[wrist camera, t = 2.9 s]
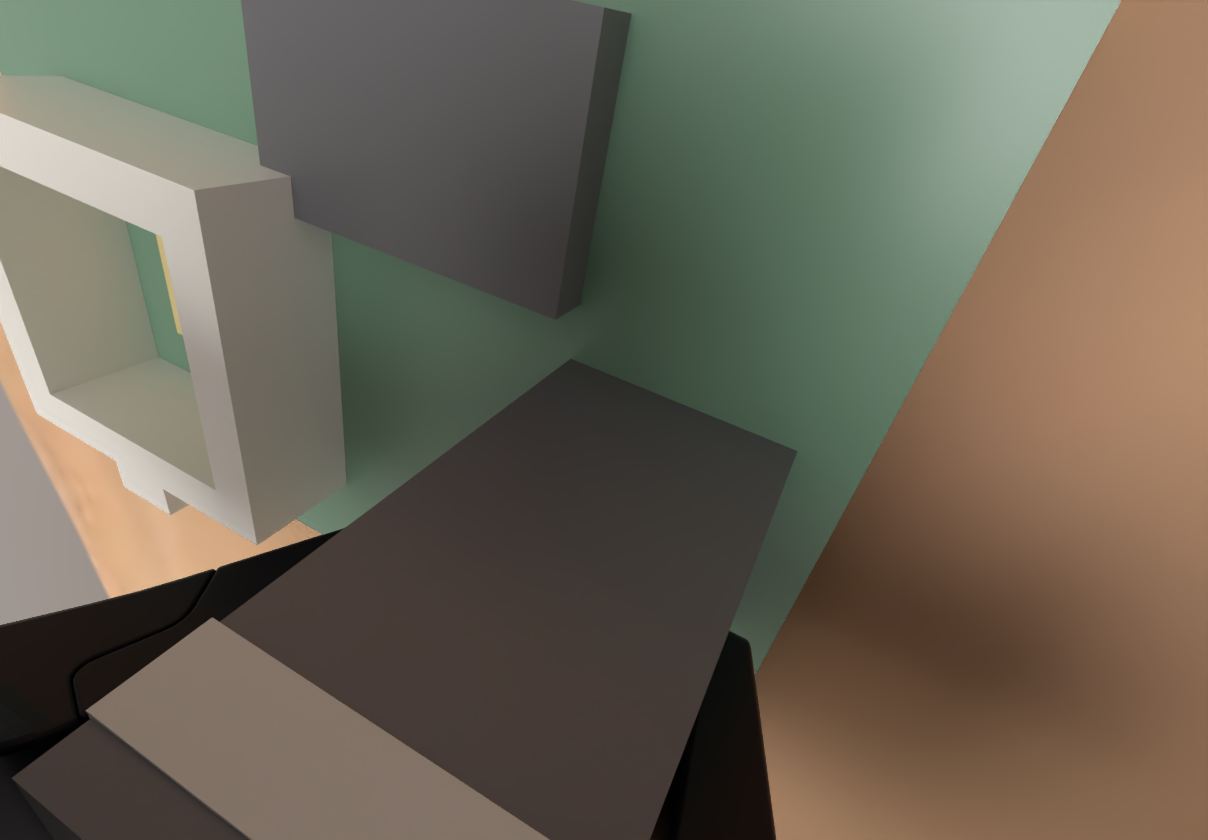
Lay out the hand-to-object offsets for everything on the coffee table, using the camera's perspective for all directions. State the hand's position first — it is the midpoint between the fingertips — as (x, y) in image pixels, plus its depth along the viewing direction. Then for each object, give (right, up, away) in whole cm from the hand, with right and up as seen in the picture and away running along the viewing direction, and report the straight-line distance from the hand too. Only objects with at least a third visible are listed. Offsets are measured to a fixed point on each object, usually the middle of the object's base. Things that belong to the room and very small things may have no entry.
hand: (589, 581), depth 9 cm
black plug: (+1, +1, +2) cm, 2 cm away
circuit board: (-4, +5, +4) cm, 8 cm away
